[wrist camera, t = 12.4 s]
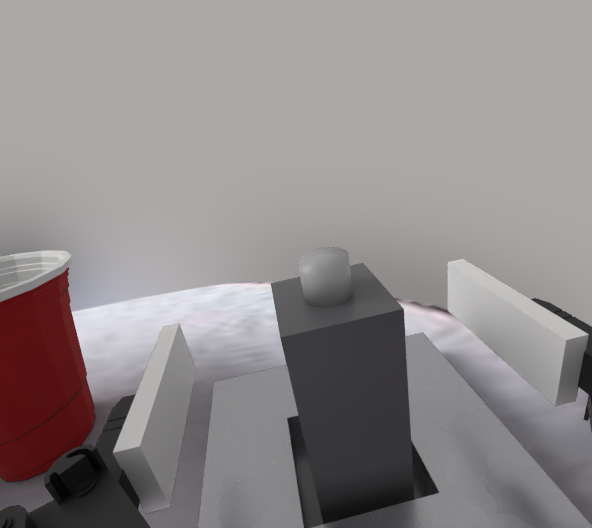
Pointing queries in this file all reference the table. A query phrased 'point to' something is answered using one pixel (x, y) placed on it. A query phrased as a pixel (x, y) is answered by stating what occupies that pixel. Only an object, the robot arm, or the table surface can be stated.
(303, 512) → the socket
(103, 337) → the table surface
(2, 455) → the plastic cup
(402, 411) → the plug
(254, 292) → the table surface
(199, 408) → the table surface
